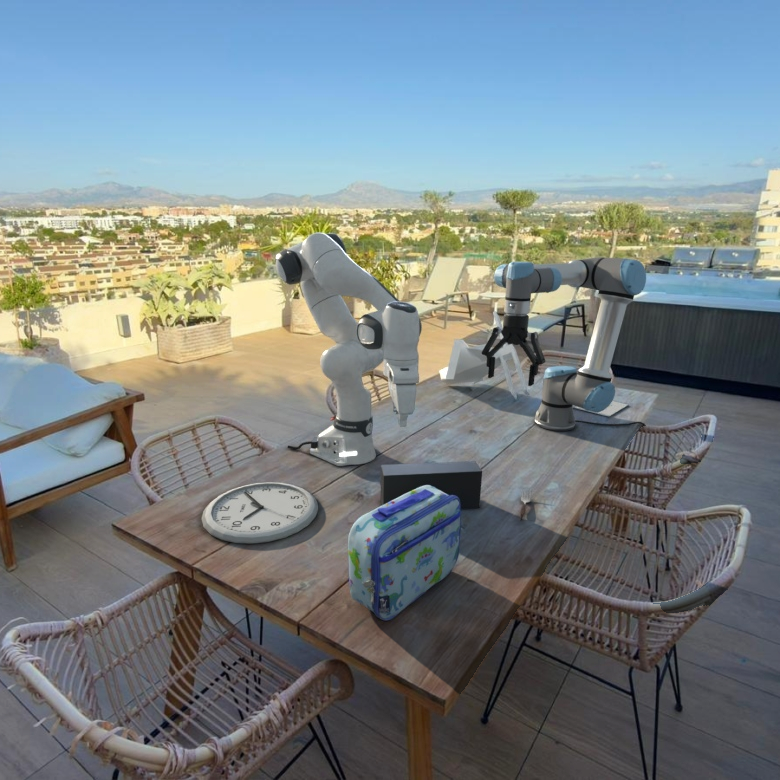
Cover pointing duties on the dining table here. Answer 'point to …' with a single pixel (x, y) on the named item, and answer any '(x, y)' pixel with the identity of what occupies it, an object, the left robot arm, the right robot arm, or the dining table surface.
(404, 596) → the lunch box
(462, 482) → the box
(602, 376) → the right robot arm
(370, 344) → the left robot arm
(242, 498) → the wall clock
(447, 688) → the dining table surface
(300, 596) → the dining table surface
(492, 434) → the dining table surface
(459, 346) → the white plastic object
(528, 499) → the fork
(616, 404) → the invitation card
